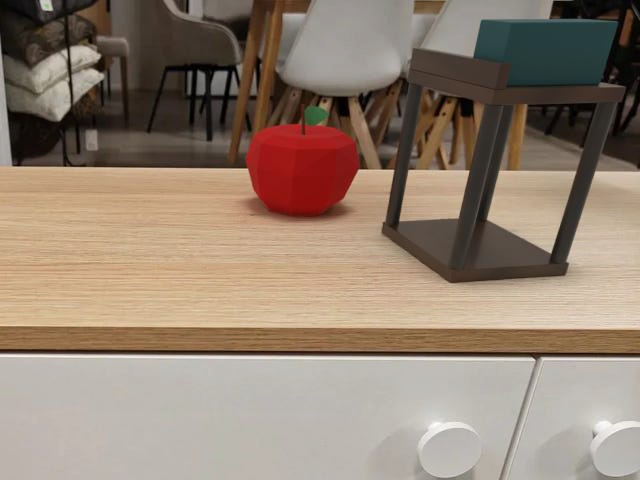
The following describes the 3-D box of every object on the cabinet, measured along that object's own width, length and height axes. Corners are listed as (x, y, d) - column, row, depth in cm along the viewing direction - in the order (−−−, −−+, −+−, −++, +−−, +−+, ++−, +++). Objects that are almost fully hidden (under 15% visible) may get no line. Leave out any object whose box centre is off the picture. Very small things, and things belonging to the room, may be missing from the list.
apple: (225, 199, 71) (230, 99, 66) (306, 187, 76) (317, 93, 71) (284, 228, 63) (295, 117, 58) (371, 213, 67) (389, 108, 62)
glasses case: (565, 78, 51) (582, 18, 49) (600, 84, 47) (619, 21, 46) (467, 80, 49) (480, 19, 47) (496, 87, 46) (511, 22, 44)
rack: (479, 227, 64) (524, 46, 56) (566, 274, 54) (634, 61, 46) (380, 232, 62) (412, 47, 55) (449, 282, 52) (501, 63, 44)
